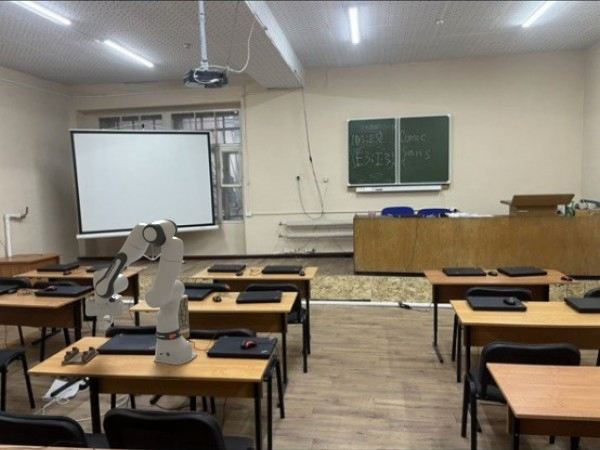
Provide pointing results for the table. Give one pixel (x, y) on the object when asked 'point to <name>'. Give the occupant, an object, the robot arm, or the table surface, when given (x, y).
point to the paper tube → (184, 317)
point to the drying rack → (79, 356)
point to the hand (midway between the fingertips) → (106, 322)
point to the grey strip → (104, 323)
